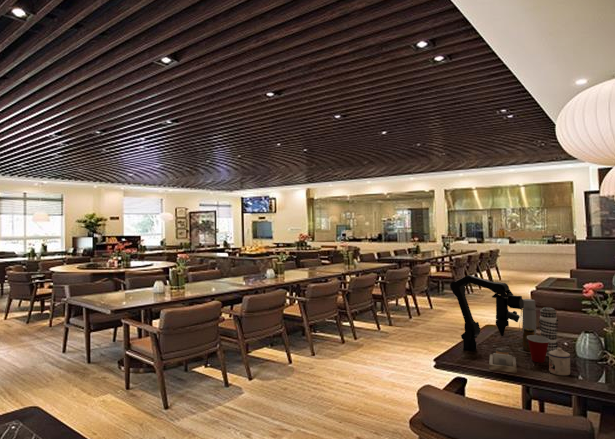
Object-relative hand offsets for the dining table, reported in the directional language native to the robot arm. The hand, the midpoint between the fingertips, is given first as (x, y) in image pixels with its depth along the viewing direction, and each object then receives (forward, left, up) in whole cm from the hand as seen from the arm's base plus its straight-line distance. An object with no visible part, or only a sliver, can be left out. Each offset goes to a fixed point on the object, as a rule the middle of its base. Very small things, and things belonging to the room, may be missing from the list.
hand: (502, 336), depth 232 cm
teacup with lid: (+25, -18, -11) cm, 33 cm away
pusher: (0, -16, -11) cm, 19 cm away
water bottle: (+14, +38, -11) cm, 42 cm away
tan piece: (0, -15, -11) cm, 19 cm away
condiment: (+13, +17, -11) cm, 24 cm away
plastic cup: (+17, -1, -11) cm, 20 cm away
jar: (0, -8, -11) cm, 14 cm away
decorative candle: (+23, +14, -11) cm, 29 cm away
